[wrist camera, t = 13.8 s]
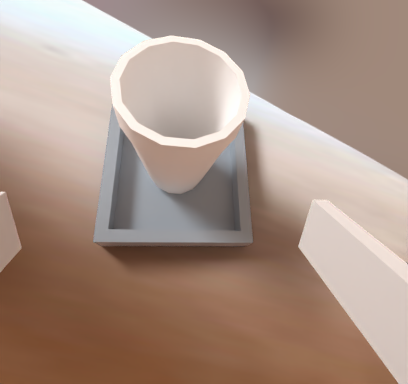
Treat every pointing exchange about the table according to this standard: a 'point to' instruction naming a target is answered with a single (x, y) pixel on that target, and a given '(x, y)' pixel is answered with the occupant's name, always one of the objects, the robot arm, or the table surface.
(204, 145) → the foam cup
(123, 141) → the tray
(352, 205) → the table surface
